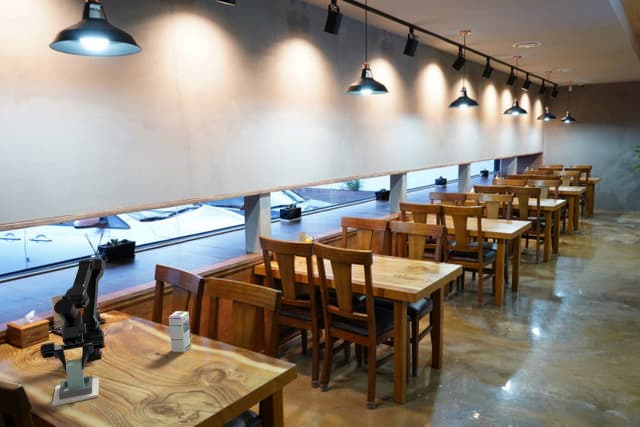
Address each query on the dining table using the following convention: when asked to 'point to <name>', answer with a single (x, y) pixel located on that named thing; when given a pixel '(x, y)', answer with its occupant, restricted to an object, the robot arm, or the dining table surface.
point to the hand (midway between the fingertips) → (74, 370)
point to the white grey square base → (76, 391)
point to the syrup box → (180, 331)
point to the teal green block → (74, 374)
